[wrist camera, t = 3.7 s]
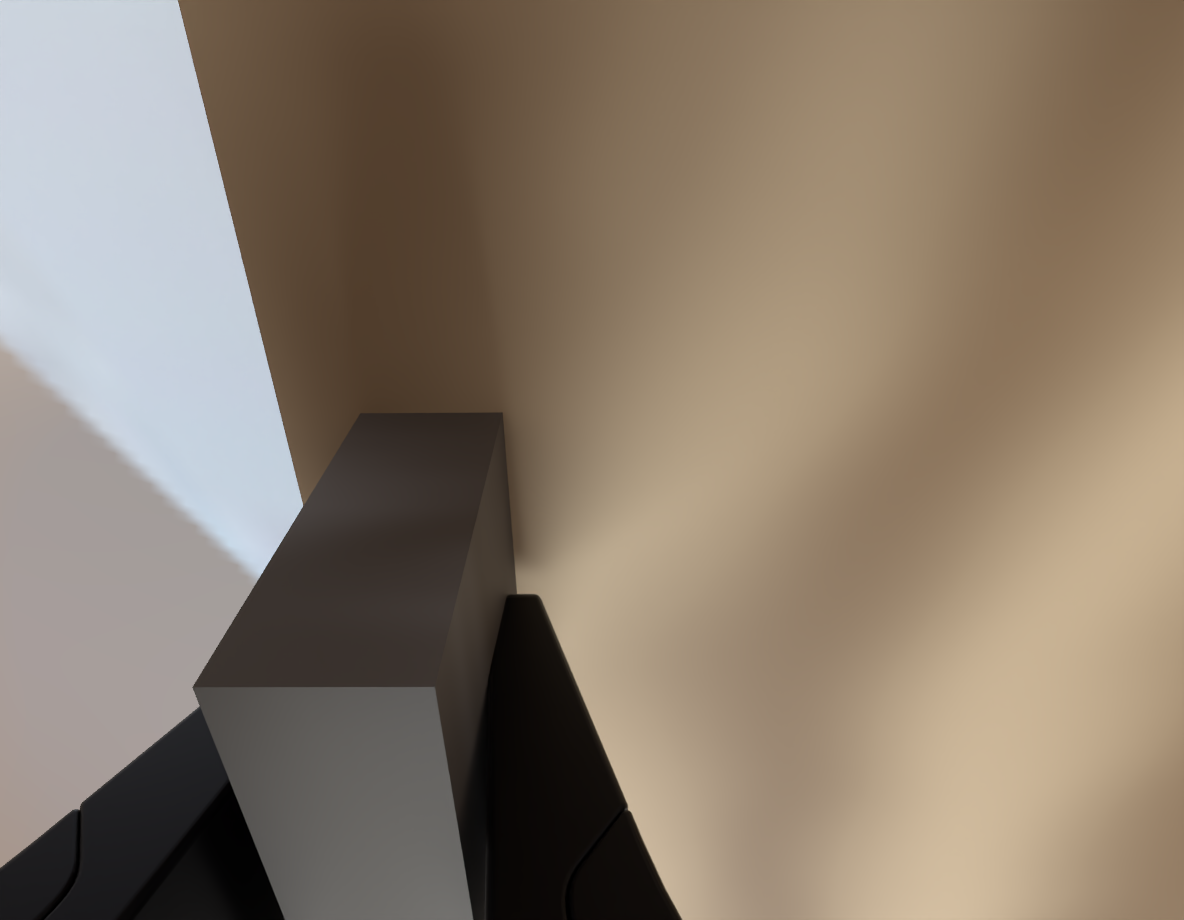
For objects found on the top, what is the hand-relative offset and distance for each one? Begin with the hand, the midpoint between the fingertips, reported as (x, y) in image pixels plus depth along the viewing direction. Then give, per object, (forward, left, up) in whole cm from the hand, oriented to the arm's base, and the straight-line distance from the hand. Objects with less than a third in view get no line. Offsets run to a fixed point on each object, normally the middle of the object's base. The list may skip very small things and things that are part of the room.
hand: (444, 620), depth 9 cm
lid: (-5, 0, -1) cm, 6 cm away
